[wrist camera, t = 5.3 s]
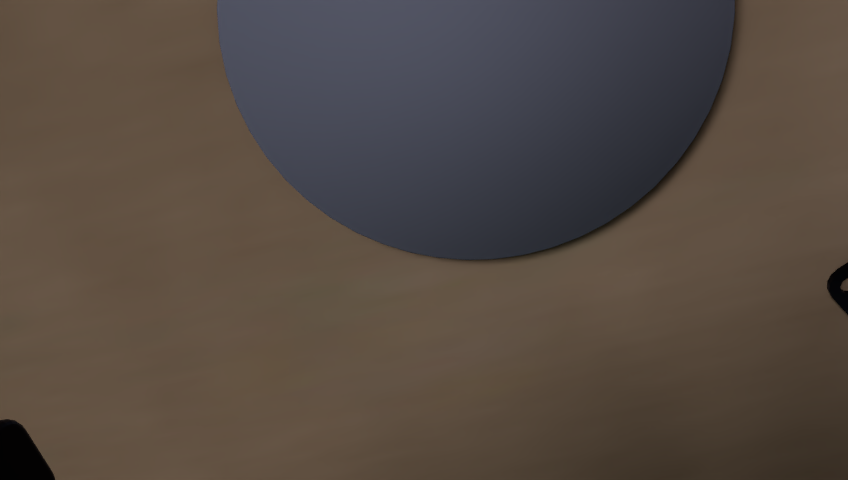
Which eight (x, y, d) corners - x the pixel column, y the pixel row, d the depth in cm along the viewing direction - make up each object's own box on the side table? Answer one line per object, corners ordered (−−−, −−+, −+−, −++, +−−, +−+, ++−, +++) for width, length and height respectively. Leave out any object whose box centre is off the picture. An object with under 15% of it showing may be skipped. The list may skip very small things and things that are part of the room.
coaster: (833, 41, 16) (841, 48, 16) (465, 322, 20) (465, 331, 20) (479, -411, 13) (479, -414, 12) (125, 36, 17) (118, 42, 16)
